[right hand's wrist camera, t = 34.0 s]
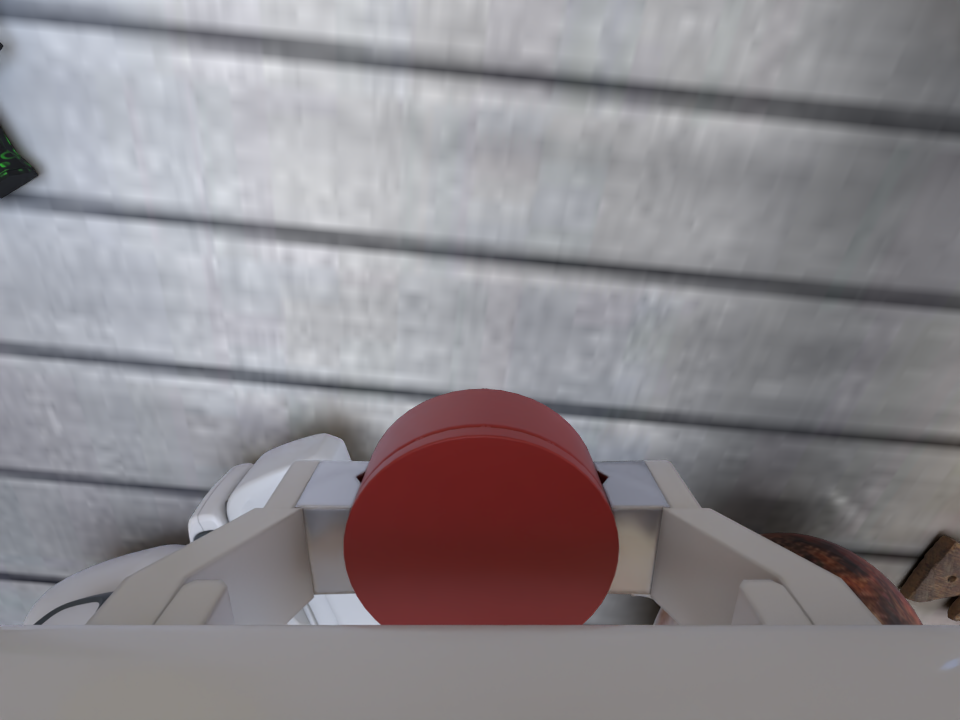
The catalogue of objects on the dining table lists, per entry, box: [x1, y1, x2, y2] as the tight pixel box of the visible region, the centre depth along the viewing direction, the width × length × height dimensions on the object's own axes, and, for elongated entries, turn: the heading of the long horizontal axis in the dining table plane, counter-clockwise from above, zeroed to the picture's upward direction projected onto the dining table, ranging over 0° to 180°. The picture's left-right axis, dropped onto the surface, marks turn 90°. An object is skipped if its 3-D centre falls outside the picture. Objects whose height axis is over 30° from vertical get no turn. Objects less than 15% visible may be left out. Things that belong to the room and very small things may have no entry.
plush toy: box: [631, 533, 923, 625], centre depth 37 cm, size 22×18×20 cm
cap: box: [343, 389, 619, 625], centre depth 9 cm, size 4×4×2 cm
